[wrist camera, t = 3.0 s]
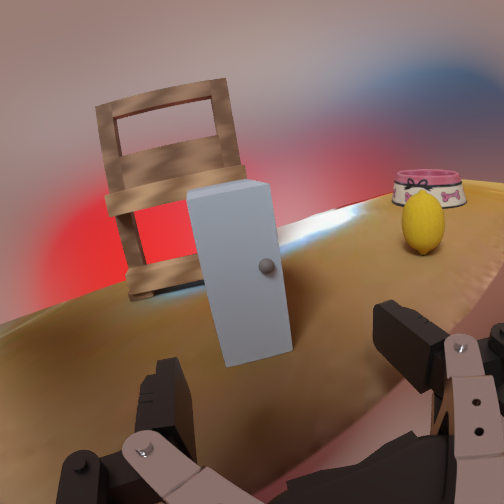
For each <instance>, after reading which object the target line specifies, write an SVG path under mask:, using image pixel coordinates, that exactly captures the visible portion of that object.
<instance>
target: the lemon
mask: <svg viewBox="0 0 504 504" xmlns="http://www.w3.org/2000/svg"><path fill="white" fill-rule="evenodd" d="M402 230H403V234H404V237H405V239H406V241H407V243H408V244H409V245H410V246H411V247H412V248H414V249H416V250H418V251H419V252H420V254H422V255H425V254H427V252H428V251H429V250H432V249H434V248H435V247H437V246H438V245H439V243H440V242H441V240H442V238H443V235H444V230H445V218H444V213H443V209H442V206H441V204H440V202H439V201H438V200H437V199H436V198H435V197H434V196H433V195H431V194H429V193H427V192H426V191H425V190H419V192H418V193H416V194H414V195H413V196H411V197H410V198H409V199H408V200H407V202H406V204H405V206H404V209H403V213H402Z"/></svg>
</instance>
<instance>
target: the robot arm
mask: <svg viewBox="0 0 504 504" xmlns="http://www.w3.org/2000/svg"><path fill="white" fill-rule="evenodd" d="M373 342H374V345H375V347H376V349H377V350H378V351H379V352H380V353H381V354H382V355H383V356H384V357H385V358H386V359H387V360H388V361H389V362H390V363H391V364H392V365H393V366H394V367H395V368H396V369H397V370H398V371H399V372H400V373H401V374H402V375H403V376H404V377H405V378H406V379H407V380H408V381H409V382H410V383H411V384H412V386H413V387H414V388H415V389H416V390H417V391H418V392H419V393H420V394H422V393H424V392H426V391H428V390H429V389H432V390H433V394H432V413H431V431H430V435H427V436H421V437H417V436H416V435H415V434H414V433H413V432H412V431H410V432H408V433H406V434H404V435H402V436H400V437H398V438H397V439H394V440H393V441H390V442H388V443H386V444H384V445H383V446H382V447H381V448H379V449H378V450H377V451H375V452H374V453H373V454H371V455H370V456H369V457H367V458H366V459H364V460H363V461H362V462H360V463H358V464H356V465H352V466H346V467H341V468H334V469H328V470H320V471H317V472H314V473H312V474H308V475H305V476H302V477H299V478H296V479H292V480H289V481H286V482H287V487H288V490H287V491H284V492H283V493H281V494H279V495H278V496H276V497H275V498H273V499H272V500H271V501H270V502H269V503H268V504H504V438H503V430H502V422H501V415H502V416H503V417H504V323H498V324H496V325H494V326H493V327H492V328H491V332H490V336H489V337H488V338H484V339H480V340H477V341H476V340H475V339H474V338H473V337H471V336H469V335H466V334H454V335H451V336H450V335H449V334H448V333H446V332H445V331H444V330H442V329H441V328H439V327H438V326H437V325H435V324H434V323H432V322H429V320H428V319H427V318H425V317H423V316H422V315H421V314H420V313H418V312H417V311H415V310H412V309H409V308H406V307H402V306H400V305H399V304H398V303H396V302H395V301H393V300H388V301H385V302H382V303H379V304H376V305H375V306H374V308H373ZM139 395H140V396H139V401H138V403H139V404H138V408H137V415H136V423H135V432H134V434H132V435H131V436H129V437H128V438H127V439H126V441H125V442H124V444H123V447H122V450H121V451H119V452H116V453H113V454H110V455H107V456H104V457H101V458H99V457H98V456H97V455H96V454H95V453H93V452H92V451H89V450H79V451H76V452H74V453H72V454H70V455H69V456H68V457H67V458H66V459H65V461H64V463H63V466H62V471H61V476H60V481H59V487H58V493H57V499H56V504H156V503H158V502H161V501H162V502H163V503H164V504H265V503H263V502H261V501H259V500H258V499H256V498H254V497H253V496H251V495H250V494H248V493H246V492H245V491H243V490H242V489H240V488H239V487H237V486H235V485H234V484H232V483H231V482H229V481H228V480H227V479H225V478H224V477H222V476H221V475H219V474H218V473H216V472H215V471H214V470H212V469H211V468H209V467H207V466H203V467H200V466H198V465H197V457H196V446H195V435H194V423H193V410H192V399H191V394H190V390H189V387H188V385H187V382H186V379H185V377H184V374H183V372H182V369H181V366H180V363H179V361H178V359H177V357H174V358H169V359H163V360H158V361H157V366H156V374H153V375H147V377H146V378H145V379H144V381H143V382H142V384H141V387H140V394H139ZM500 414H501V415H500Z"/></svg>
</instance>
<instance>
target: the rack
mask: <svg viewBox="0 0 504 504" xmlns="http://www.w3.org/2000/svg"><path fill="white" fill-rule="evenodd" d="M207 99H211V104H212V110H213V116H214V121H215V127H216V133H217V135H216V136H210V137H205V138H199V139H194V140H189V141H185V142H180V143H175V144H170V145H166V146H161V147H157V148H153V149H148V150H145V151H140V152H136V153H133V154H129V155H125V156H122V152H121V146H120V140H119V134H118V127H117V119H121V118H124V117H128V116H132V115H136V114H140V113H144V112H148V111H152V110H156V109H161V108H165V107H170V106H175V105H179V104H185V103H190V102H195V101H201V100H207ZM95 108H96V116H97V123H98V131H99V137H100V144H101V150H102V155H103V161H104V167H105V172H106V177H107V182H108V187H109V192H110V194H108V195H105V200H106V205H107V209H108V214H109V217H113V216H115V218H116V223H117V227H118V231H119V234H120V238H121V242H122V246H123V249H124V253H125V257H126V260H127V264H128V267H129V269H128V271H127V273H126V275H125V277H126V280H127V283H128V286H129V290H130V291H129V293H128V295H129V298H130V301H135V300H140V299H145V298H149V297H153V296H154V292H155V290H157V289H161V288H166V287H171V286H175V285H180V284H184V283H189V282H194V281H198V280H203V274H202V270H201V266H200V261H199V257H198V253H197V254H193V255H188V256H184V257H180V258H175V259H170V260H166V261H161V262H157V263H153V264H148V265H147V264H146V260H145V256H144V252H143V248H142V244H141V240H140V236H139V233H138V228H137V224H136V220H135V216H134V211H136V210H141V209H145V208H149V207H153V206H158V205H162V204H166V203H170V202H175V201H180V200H184V199H187V190H191V189H196V188H201V187H206V186H211V185H216V184H221V183H226V182H231V181H237V180H242V179H247V175H246V170H245V165H241V162H240V157H239V150H238V145H237V139H236V134H235V127H234V121H233V116H232V110H231V104H230V98H229V93H228V88H227V81H226V78H221V79H214V80H208V81H201V82H195V83H190V84H184V85H179V86H174V87H169V88H164V89H160V90H155V91H151V92H147V93H142V94H138V95H134V96H131V97H127V98H123V99H120V100H116V101H113V102H109V103H106V104H102V105H100V106H96V107H95Z"/></svg>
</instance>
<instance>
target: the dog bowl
mask: <svg viewBox="0 0 504 504" xmlns="http://www.w3.org/2000/svg"><path fill="white" fill-rule="evenodd" d="M394 182H395V184H394V189H393V196H392V203H394V204H395V205H398V206H402V207H404V206H405V204H406V202H407V200H408V199H409V198H410V197H411V196H413V195H414V194H416V193H418V192H419V190H425V191H426V192H427V193H429V194H431V195H433V196H434V197H435V198H436V199H437V200H438V201H439V202H440V204H441V206H442V209H446V208H455V207H459V206H463V205H465V204H466V203H467V201H466V197H465V194H464V190H463V186H462V181H461V178H460V175H459V173H457V172H455V171H448V170H433V169H432V170H431V169H421V170H405V171H400V172H397V174H396V178H395V181H394Z"/></svg>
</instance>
